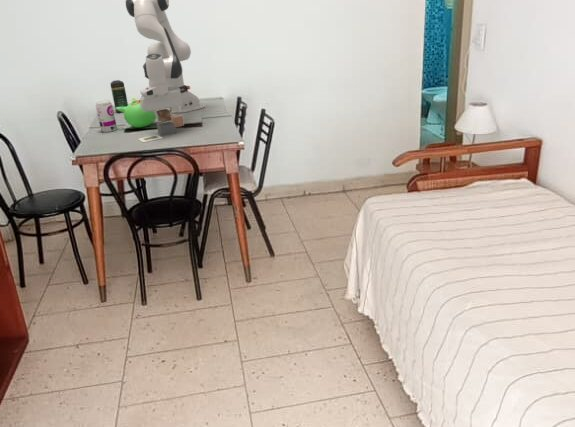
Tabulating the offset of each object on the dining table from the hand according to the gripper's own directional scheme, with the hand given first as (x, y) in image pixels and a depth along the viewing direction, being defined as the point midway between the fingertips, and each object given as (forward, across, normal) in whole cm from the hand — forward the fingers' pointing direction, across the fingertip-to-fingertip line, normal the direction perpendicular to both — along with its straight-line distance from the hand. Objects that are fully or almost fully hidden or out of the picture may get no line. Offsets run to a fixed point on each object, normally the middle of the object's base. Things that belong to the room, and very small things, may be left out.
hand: (164, 117), depth 258 cm
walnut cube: (+2, 0, 0) cm, 2 cm away
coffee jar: (+8, +2, -74) cm, 74 cm away
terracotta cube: (+8, -10, -11) cm, 17 cm away
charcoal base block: (+8, 0, 0) cm, 8 cm away
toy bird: (+8, +5, -25) cm, 27 cm away
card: (+8, +10, +4) cm, 14 cm away
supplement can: (+8, +21, -31) cm, 38 cm away
